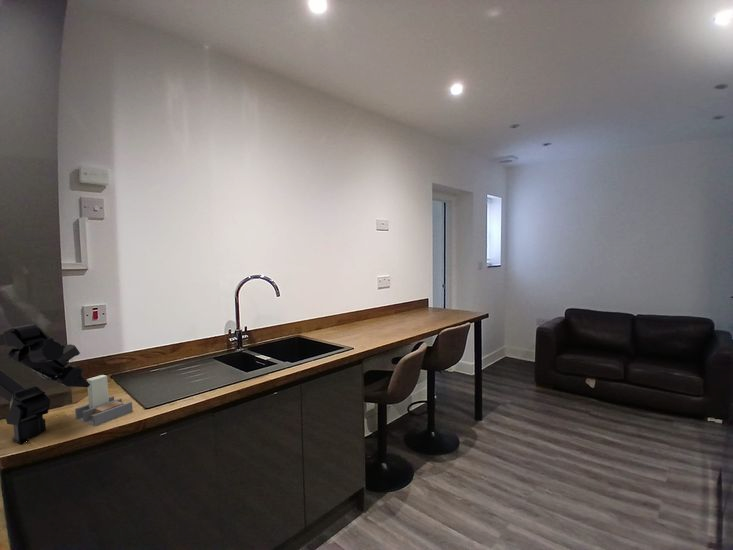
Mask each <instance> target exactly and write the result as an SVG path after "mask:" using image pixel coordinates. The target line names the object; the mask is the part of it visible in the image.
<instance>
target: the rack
mask: <svg viewBox="0 0 733 550" xmlns="http://www.w3.org/2000/svg"><path fill="white" fill-rule="evenodd" d="M115 401H118V402H122V403H123V399H122V398H117V399H115V396H114V395H112V396H109V402H108V403H105V404H103V405H100V406H97V407H94V408H91V409H89V403H88V404H86V405H81V406H78V407H76V408H75V409H74V413H75V419H76V420H78V421H81V422H84V424H88V425H91V426H94V427H97V426H100V425H102V424H105V423H107V422H110V421H112V420H115V419H118V418H121V417H123V416H125V415H128V414H130V413H133V412H134V411H133V401H128V402H126V403H124V404H122V405H120V406H117V407H114V408H112V409H109V410H106V411H103V412H101V413H98V414H95V408H98V407H101V406H104V405H106V404H109V403H112V402H115ZM93 414H95V415H93ZM90 415H93V421H91V418H90Z"/></svg>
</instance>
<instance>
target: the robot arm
mask: <svg viewBox="0 0 733 550" xmlns="http://www.w3.org/2000/svg"><path fill="white" fill-rule="evenodd" d="M0 346H6V347H15V348H11V349H10V350H9V351H8V353H7V356H8V359H7V360H8V361H10V362H11V361H14V362H16V363H18V364H20V365H22V366H23V367H26V368H28V369H29V370H31V371H33V372H35V373H37V376H39V377H42V378H43V379H46V380H49V381H55V382H57V383H58V384H60V385H63V386H65V387H69V388H71V387H74V388H87V387H89V386H90V384H89V383H88V382H87V379H86V378H85V377H84V376H83V375H82V373H83V372H84V368H82V367H81V366H79V365H76V364H71V365H68V364H69V362H68V361H70V360H72V359H73V358H75V357H77V356H79V355H80V354H81V352H80V351H79V349H78V347H77V346H76V345H74V344H66V345H63V344H61V343H60V342H58V341H54V337H50V336H49V335H48V334H46V333H45V332H44V331H43V329H41V327H39V326H38V324H35V323H33V324H32V323H31V324H26V325H20V326H14V327H10V328H9V329H6V330H4V331H3V333H0ZM67 365H68V366H67ZM45 393H46V391H43V390H42V389H40V387H38V386H36V385H35V386H32V387H29V388H25V386H23V385H22V384H20V383H19V382H17V381H16V380H15V379H14V378H12V377H11V376H9V375H8V374H7V373H5V372H4V370H2V369H0V396H1V397H2V398H3V399H5V400H6V401H7V402H8V403H9V412H8V413H7V414H6V415H5V418H4V419H5V421H6V424H7V425H10V426H11V425H13V433H14V435H13V437H12V439H11V440H12V441H14V440H15V441H14V442H16V441H17V442H16V443H18V442H19V443H23V444H25V443H24V442H26V441H29V442H30V440H31V439H33V438H36V437H38V436H39V435H41V434H44V433H45V432H46V431H47V428H46V427H47V426H46V425H47V424H46V419H45V418H44V415H47V414H49V410H50V404H51V399H50V397H49V396H48V395H47V394H45ZM19 443H18V444H19ZM26 443H27V442H26Z"/></svg>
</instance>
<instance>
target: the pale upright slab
mask: <svg viewBox="0 0 733 550" xmlns="http://www.w3.org/2000/svg"><path fill="white" fill-rule="evenodd" d="M86 381H87V382H88V383H89V384H90V386H89V387H86V388H87V398H88V401H87V402H88V404H89V409H91V408H94V407H97V406H100V405H103V404H105V403H108V402H109V397H110V396H109V384H108V376H107V375H104V374H100V375H97V376H94V377H90V378H87V379H86Z"/></svg>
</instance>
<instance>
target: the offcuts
mask: <svg viewBox="0 0 733 550" xmlns="http://www.w3.org/2000/svg"><path fill="white" fill-rule="evenodd" d="M122 404H125V403H124V402H123V401H122V402H118V401H115V402H112V403H109V404H106V405H104V406H101V407H98V408H95V414H98V413H101V412H103V411H106V410H109V409H112V408H114V407H117V406H120V405H122ZM95 414H93V415H95ZM93 415H90V418H91V421H93Z"/></svg>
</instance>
